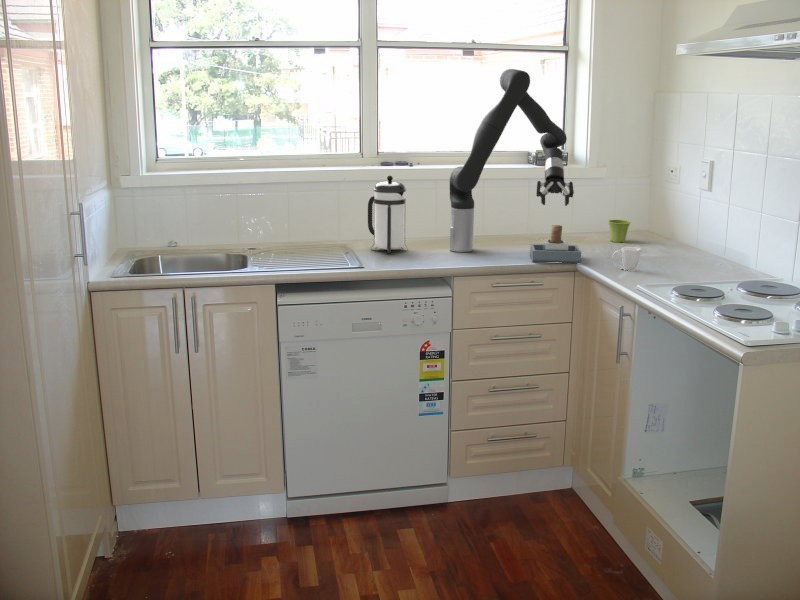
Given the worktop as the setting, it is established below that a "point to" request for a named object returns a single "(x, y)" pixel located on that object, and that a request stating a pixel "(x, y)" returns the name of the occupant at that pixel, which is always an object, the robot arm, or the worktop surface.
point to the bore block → (555, 245)
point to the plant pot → (618, 230)
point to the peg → (556, 234)
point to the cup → (629, 257)
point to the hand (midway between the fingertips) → (555, 204)
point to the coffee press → (388, 215)
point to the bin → (555, 254)
